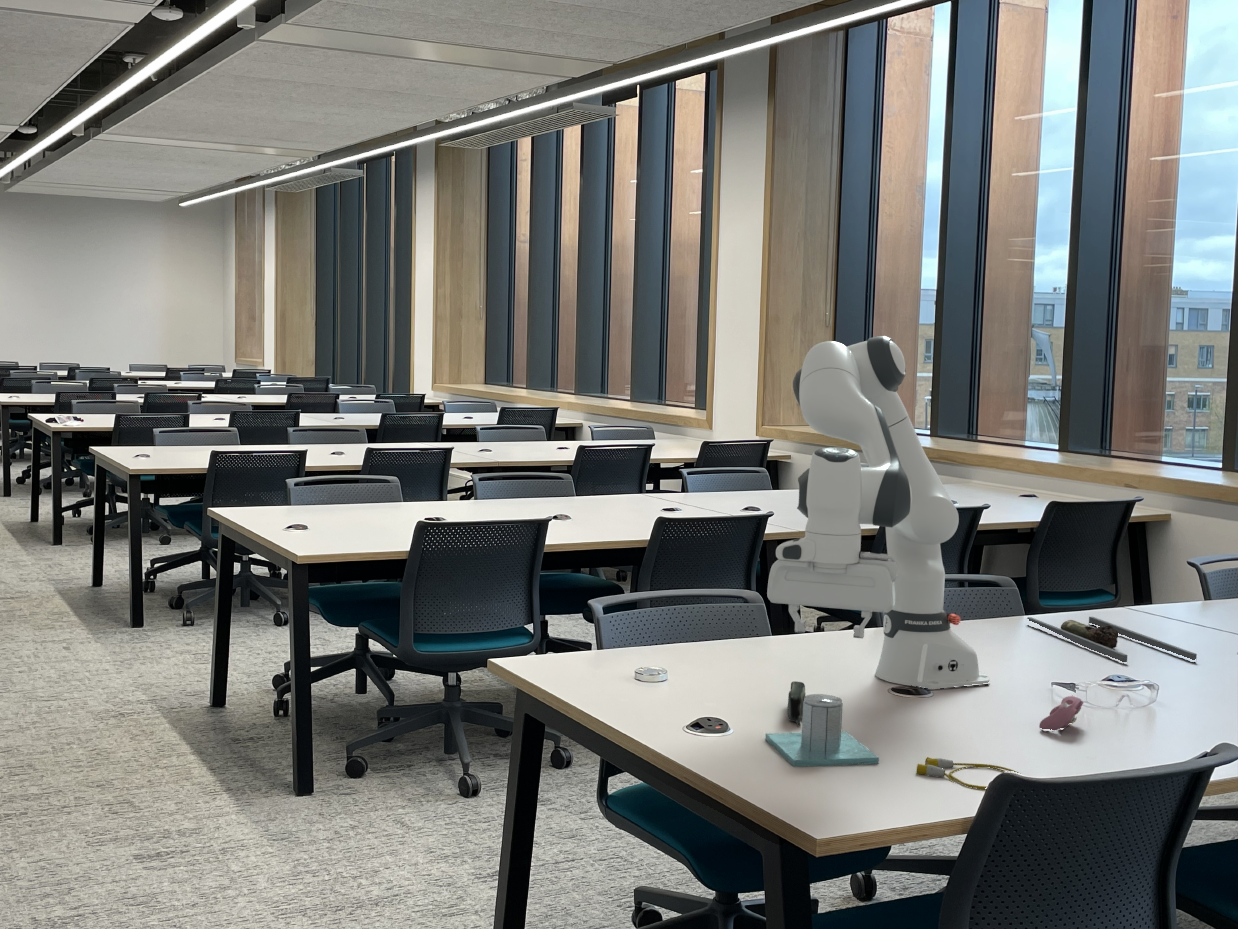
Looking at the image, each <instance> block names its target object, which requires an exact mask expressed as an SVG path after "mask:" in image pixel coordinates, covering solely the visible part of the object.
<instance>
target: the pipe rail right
mask: <svg viewBox="0 0 1238 929" xmlns="http://www.w3.org/2000/svg"><path fill="white" fill-rule="evenodd" d="M1089 623H1092V624H1095V625H1098V626H1100V627H1101V626H1105V625H1109V626H1112V627H1113V628H1114V629H1116V630H1117V632H1118V633H1119V634H1121V635H1125V636H1127V637H1129V638H1132V639H1135V640H1138V641H1141V642H1144V643H1147V644H1150V645H1152V646H1156V647H1159V648H1162V649H1165V650H1167V651H1171V652H1173V653H1176V654H1178V655H1182V656H1184V657H1187V658H1190V659H1192V660H1195V659H1196V660H1197V658H1198V657H1197V655H1198V654H1197V653H1195V652H1192V651H1190V650H1186V649H1183V648H1181V647H1179V646H1175V645H1173V644H1170V643H1167V642H1164V641H1162V640H1160V639H1156V638H1153V637H1151V636H1148V635H1145V634H1142V633H1139V632H1137V631H1133V630H1130V629H1128V628H1125V627H1123V626H1120V625H1117V624H1116V623H1115V624H1114V623H1112V622H1109V621H1106V620H1103V619H1101V618H1097V617H1095V616H1088V624H1089Z"/></svg>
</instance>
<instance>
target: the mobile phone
mask: <svg viewBox="0 0 1238 929" xmlns="http://www.w3.org/2000/svg"><path fill="white" fill-rule="evenodd" d="M805 696H807V695H806V685H805V683H804V682H801V681H791V682H790V690H789V692H788V698H787V719H788V720H789V721H790V722H796V726H797V727H802V718H803V702H804V697H805Z"/></svg>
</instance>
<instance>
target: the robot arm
mask: <svg viewBox="0 0 1238 929" xmlns="http://www.w3.org/2000/svg"><path fill="white" fill-rule="evenodd" d="M803 360H804V361H803V364H802V366H801V369H798V371H797V372H796V373H795V375H794V377H793V380H792V388H793V395H794V398H795V400H796V402H797V404H798V405H799V407H800V413H801V415H802V417H803V420H804V421H805V423H806V424H807V425H808V426H809V427H810V428H812V429H813V430H814V431H816V432H817V433H819V434H821V435H823V436H826V437H829V438H834V439H838V440H843V441H846V442H849V443H853V444H855V445H858V446H859V447H860V448H861V451H862V454H863V456H864V458H865V460H866V463H867V465H868V466H863V465H861V464H862V463H861V457H860V454H859V453H858V452H856V451H855V450H853V449H851V448H847V447H840V446H839V447H837V446H827V447H823V448H822V447H821V448H818V449H816V450H814V452H813V453H812V455H811V459H810V463H809V467H808V468H807V469H806V470H805V471H804V472H802V474H800V475H799V476H798V477H797V483H798V504H797V507H796V509H797V510H798V511H799V512H800V513H801V514H802V515H803V516H804V517H806V518H807V522H806V524H805V529H804V531H805V533H804V537H799V538H795V539H791V540H787V541H784V542H782V543H781V544H779V545H777V547H776V549H775V557H776V558H777V560H776V561H774V563H772V565H771V568H770V570H769V575H768V581H767V582H768V583H767V588H766V590H767V592H766V594H767V598H768V600H769V601H770V603H773V604H782V605H784V604H785V605H788V613H789V615H790V616H791V618H792V620H793V622H794V633H800V634H804V633H805V632H806V630H807V629H806V625H807V620H803V619H801V617H800V614H799V613H798V611H799V610H801V609H800V606H805V607H806V606H808V607H814V608H815V607H816V608H817V607H818V608H829V609H840V610H841V609H842V610H848V611H849V610H851V611H861V613H860V614H861V618H864V619H863V620H862V622H861V623H860V625H858V624H857V625H856V624H855V625H854V626H853V638H854V639H862V640H863V639H864V637H865V627H866V625H867V624H868V623H869V621H870V619H871V618H872V617H873V613H874V612H875V613H884V615H883V622H882V623H883V625H882V626H883V628H882V629H883V635H884V636H883V643H882V648H881V654H880V658H879V661H878V665H877V668H876V670H875V672H874V675H875V676H876V677H877V678H878V679H881V680H883V681H886V682H889V683H894V684H898V685H904V686H911V685H912V686H911V687H916V686H921V687H925V688H928V689H927V690H941V689H940V688H944V689H948V688H947V687H954V686H964V685H972V684H983V683H988V682H989V681H990V677H989V676H988V675H987V674H986V673H985V672H983V671H981V670H980V668H979V667H980V666H979V660H978V655H977V652H976V651H975V649H974V648H973V647H972V646H971V645H970V644H969V643H967V642H966V641H965V640H964V639H963V638H962V637H960V636H959V634H957V633H956V632H955V631H954V630H952V629H951V625H954V626H959V623H960V624H961V621H962V619H961V617H960V615H959V614H958V615H957V614H955V613H949V612H947V611H946V610H944V600H945V598H944V596H945V580H946V572H945V566H944V563H943V557H942V549H941V544H942V543H945V542H947V541H949V540H950V539H951V538H952V537H953V536H954V535H955V533H956V531H957V529H958V526H959V520H960V518H959V512H958V510H957V508H956V507H957V506H955V504H954V503H953V501H952V499H951V497H950V496H949V493H948V491H947V489H946V488H945V486H944V484H943V482H942V481H941V478H940V476H939V475H938V472H937V471H936V470H935V468H934V466H933V464H932V463H931V461H930V460H929V457H928V456H927V455H926V452H925V450H924V448H923V446H922V443H921V442H920V438H919V436H918V435H917V432H916V430H915V427H914V425H913V423H912V420H911V419H910V416H909V413H908V411H907V408H906V407H905V405H904V403H903V401H902V399H901V397H900V396H899V393H898V389H899V386H900V385H901V384H902V383H903V382H904V379H905V377H906V375H907V370H906V360H905V357H904V354H903V351H902V350H901V348H900V347H899V346H898V345H897V343H896V342H895V341H894V340H893V339H892V338H891V337H888V336H886V335H879V336H873V337H869V338H868V339H867V340H865V341H860V342H857V343H854V344H850V345H848V346H846V345H845V344H843V343H841V342H838V341H835V340H834V341H832V340H827V341H822V342H819V343H817V344H815V345H813V346H812V347H811V348H810V349H809V351H807V353H806V355H805V357H804V359H803ZM861 525H872V526H876V527H884V528H885V539H886V540H885V542H886V550H887V551H886V552H887V553H885V552H881V553H876V552H870V551H861V548H862V547H861V546H862V544H861V542H862V528H861V527H862V526H861ZM990 682H991V681H990Z"/></svg>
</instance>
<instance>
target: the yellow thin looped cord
mask: <svg viewBox="0 0 1238 929" xmlns="http://www.w3.org/2000/svg"><path fill="white" fill-rule="evenodd" d="M924 763H925V764H922V763H921V764H920V763H918V764H917V765H916V775H922V774H923V776H925V775H929V776H928V777H933V776H938V777H937V778H942V777H943V778H944V777H946V778H947V779H948V780H949V781H950V780H952V781H954V782H957V783H959V784H961V785H962V784H963V785H962V786H964V785H966V786H968V787H967V788H969V787H972V788H971V789H973V788H977V789H976V790H980V789H981V791H986V790H985V788H986V787H988V786H984V785H975V784H971V783H966V782H964V781H962V780H961V779H958V778H957V777H955V776H954V775H953V774H954V773H955V772H954V771H956V772H957V770H958V771H960V770H959V769H961V770H963V769H962V768H965V769H967V768H966V767H976V768H978V767H990V768H993V770H996V769H997V771H999V770H1001V771H1000V772H1002V771H1007V772H1011V771H1014V772H1017V773H1020V772H1019V771H1017V770H1014V769H1011V768H1007V767H1004V766H1000V765H995V764H985V763H965V762H964V763H963V762H954V761H953V760H950V759H946V758H937V757H936V758H932V757H929V756H927V757H925V761H924ZM955 766H962V767H958V768H955V769H953V770H951V771H949V772H948V774H947V773H946V770H945V769H951V768H950V767H953V768H954V767H955ZM942 768H943V769H942ZM990 768H989V769H990ZM953 772H954V773H953ZM951 773H952V774H951ZM954 779H955V780H954ZM952 781H951V782H952ZM954 782H953V783H954ZM966 786H965V787H966Z"/></svg>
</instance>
